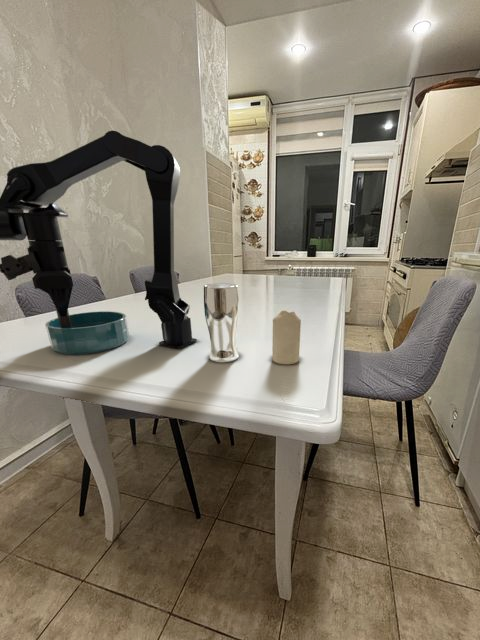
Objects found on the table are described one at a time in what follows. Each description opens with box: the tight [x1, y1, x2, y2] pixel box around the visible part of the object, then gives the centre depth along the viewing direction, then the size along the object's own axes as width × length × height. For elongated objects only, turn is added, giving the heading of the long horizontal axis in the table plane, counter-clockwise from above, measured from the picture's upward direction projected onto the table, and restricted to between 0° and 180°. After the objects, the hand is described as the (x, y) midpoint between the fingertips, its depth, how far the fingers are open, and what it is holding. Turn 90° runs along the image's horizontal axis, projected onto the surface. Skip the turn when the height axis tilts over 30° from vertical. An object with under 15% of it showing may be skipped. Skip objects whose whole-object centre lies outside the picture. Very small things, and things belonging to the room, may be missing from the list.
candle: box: [271, 310, 302, 365], centre depth 58 cm, size 6×6×10 cm
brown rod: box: [54, 306, 72, 328], centre depth 65 cm, size 3×3×12 cm
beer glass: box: [203, 282, 240, 363], centre depth 59 cm, size 7×7×15 cm
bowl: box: [45, 310, 130, 355], centre depth 69 cm, size 16×16×6 cm
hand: (63, 315), depth 65 cm, fingers closed on brown rod, 2 cm apart
